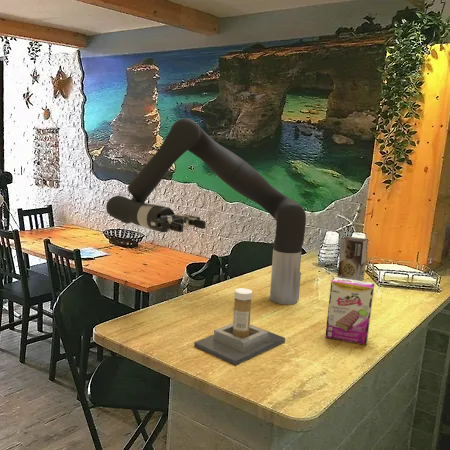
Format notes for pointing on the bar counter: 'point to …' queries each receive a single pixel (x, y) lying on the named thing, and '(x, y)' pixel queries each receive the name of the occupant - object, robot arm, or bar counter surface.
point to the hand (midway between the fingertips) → (193, 226)
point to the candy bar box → (349, 310)
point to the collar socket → (238, 344)
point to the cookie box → (352, 258)
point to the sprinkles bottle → (242, 312)
